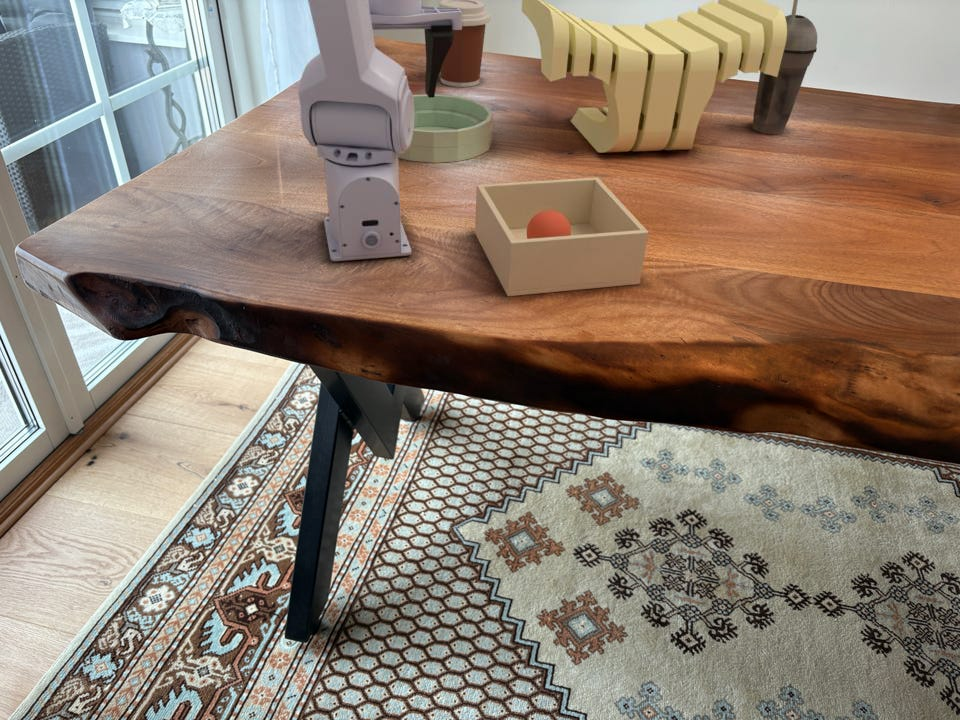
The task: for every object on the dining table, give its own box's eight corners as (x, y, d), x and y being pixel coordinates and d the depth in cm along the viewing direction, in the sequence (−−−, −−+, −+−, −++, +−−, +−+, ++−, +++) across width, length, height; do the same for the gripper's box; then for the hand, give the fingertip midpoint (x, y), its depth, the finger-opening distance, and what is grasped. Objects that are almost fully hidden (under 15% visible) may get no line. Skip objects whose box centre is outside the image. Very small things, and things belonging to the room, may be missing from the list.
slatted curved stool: (543, 163, 98) (556, 14, 88) (514, 122, 111) (522, -13, 101) (757, 155, 104) (793, 13, 94) (706, 116, 117) (733, -12, 106)
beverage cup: (804, 135, 111) (848, -17, 100) (764, 139, 109) (803, -15, 97) (771, 119, 117) (809, -27, 105) (732, 123, 115) (766, -25, 103)
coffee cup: (421, 80, 127) (420, 1, 120) (457, 70, 132) (459, -6, 125) (462, 92, 122) (464, 11, 115) (498, 81, 128) (502, 3, 121)
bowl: (503, 163, 98) (505, 129, 95) (384, 170, 95) (383, 134, 92) (475, 124, 110) (476, 92, 107) (369, 129, 107) (368, 96, 104)
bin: (639, 284, 74) (649, 232, 71) (507, 296, 71) (511, 242, 68) (591, 224, 84) (598, 177, 81) (474, 233, 81) (476, 184, 78)
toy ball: (581, 252, 76) (571, 211, 73) (539, 267, 75) (528, 227, 73) (567, 237, 79) (557, 198, 77) (527, 251, 79) (516, 213, 77)
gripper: (453, -41, 85) (451, 84, 93) (321, -42, 82) (330, 88, 90) (467, -30, 80) (464, 101, 88) (326, -30, 77) (336, 106, 85)
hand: (397, 96), depth 89 cm, fingers open, 7 cm apart
